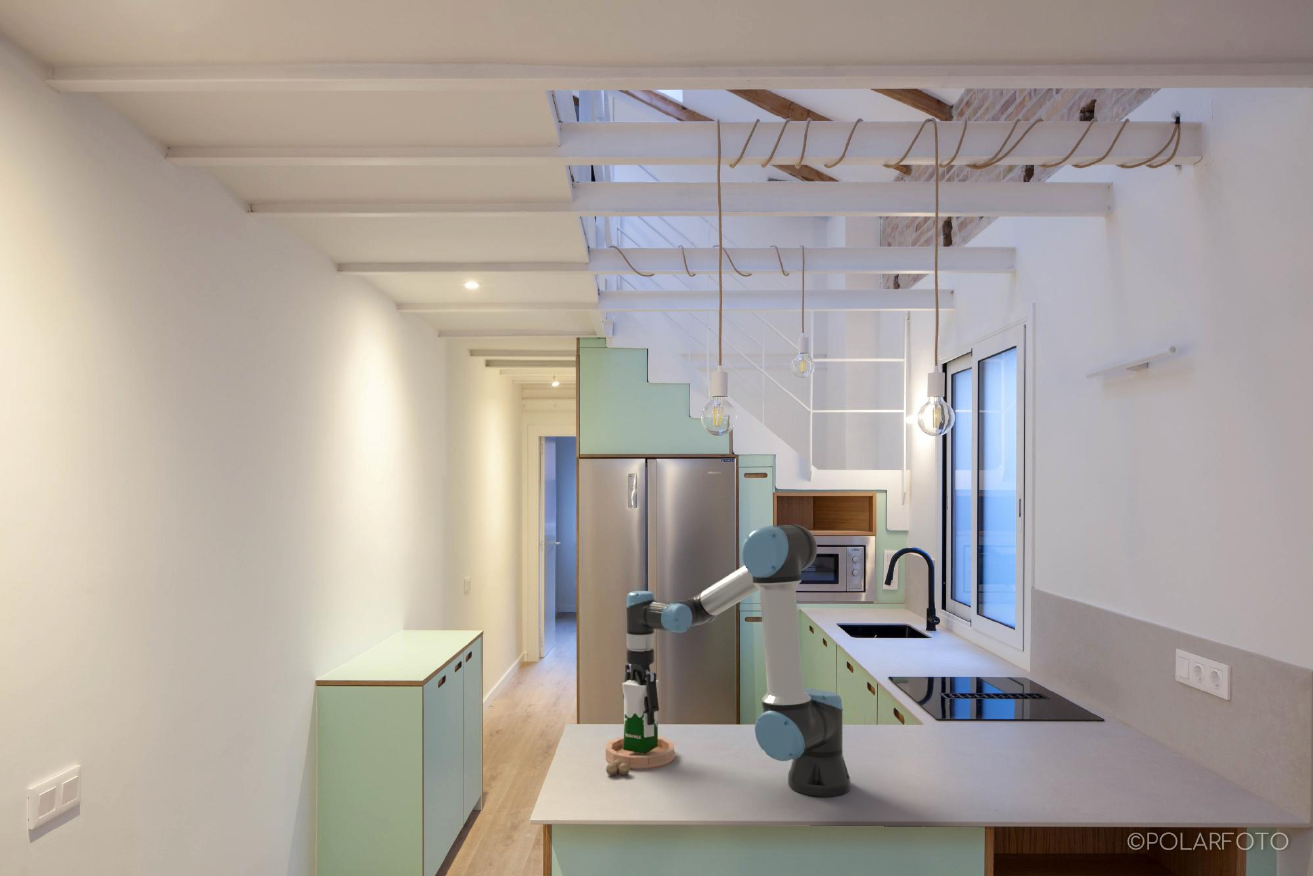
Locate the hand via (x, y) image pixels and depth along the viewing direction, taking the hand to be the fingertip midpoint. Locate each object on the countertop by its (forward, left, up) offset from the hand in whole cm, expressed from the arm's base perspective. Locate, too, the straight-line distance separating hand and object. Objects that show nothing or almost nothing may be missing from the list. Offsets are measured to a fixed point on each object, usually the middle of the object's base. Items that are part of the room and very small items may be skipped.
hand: (640, 731), depth 226 cm
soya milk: (0, 0, -5) cm, 5 cm away
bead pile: (-8, +11, -7) cm, 16 cm away
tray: (0, 0, -7) cm, 7 cm away
